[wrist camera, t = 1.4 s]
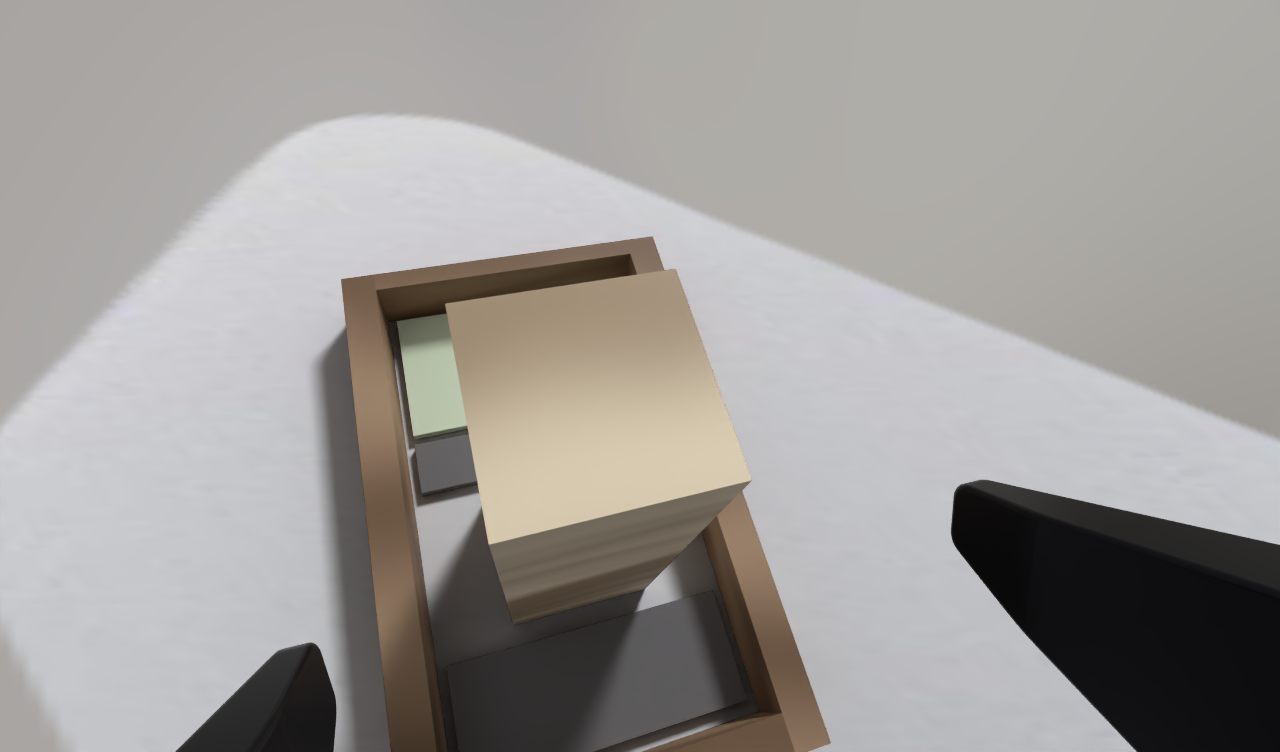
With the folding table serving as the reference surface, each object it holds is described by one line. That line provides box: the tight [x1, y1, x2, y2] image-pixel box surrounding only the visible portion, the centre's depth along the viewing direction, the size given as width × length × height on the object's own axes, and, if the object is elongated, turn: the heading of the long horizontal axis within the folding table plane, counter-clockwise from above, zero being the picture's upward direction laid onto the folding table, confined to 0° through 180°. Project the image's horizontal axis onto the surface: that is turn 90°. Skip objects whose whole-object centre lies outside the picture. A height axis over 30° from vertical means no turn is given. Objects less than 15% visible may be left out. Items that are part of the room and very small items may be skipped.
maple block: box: [445, 269, 752, 625], centre depth 15 cm, size 4×4×11 cm
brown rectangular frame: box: [341, 236, 831, 752], centre depth 19 cm, size 16×10×2 cm, turn 16°
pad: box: [397, 314, 468, 439], centre depth 22 cm, size 4×8×1 cm, turn 106°
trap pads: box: [415, 434, 747, 752], centre depth 19 cm, size 10×8×1 cm
